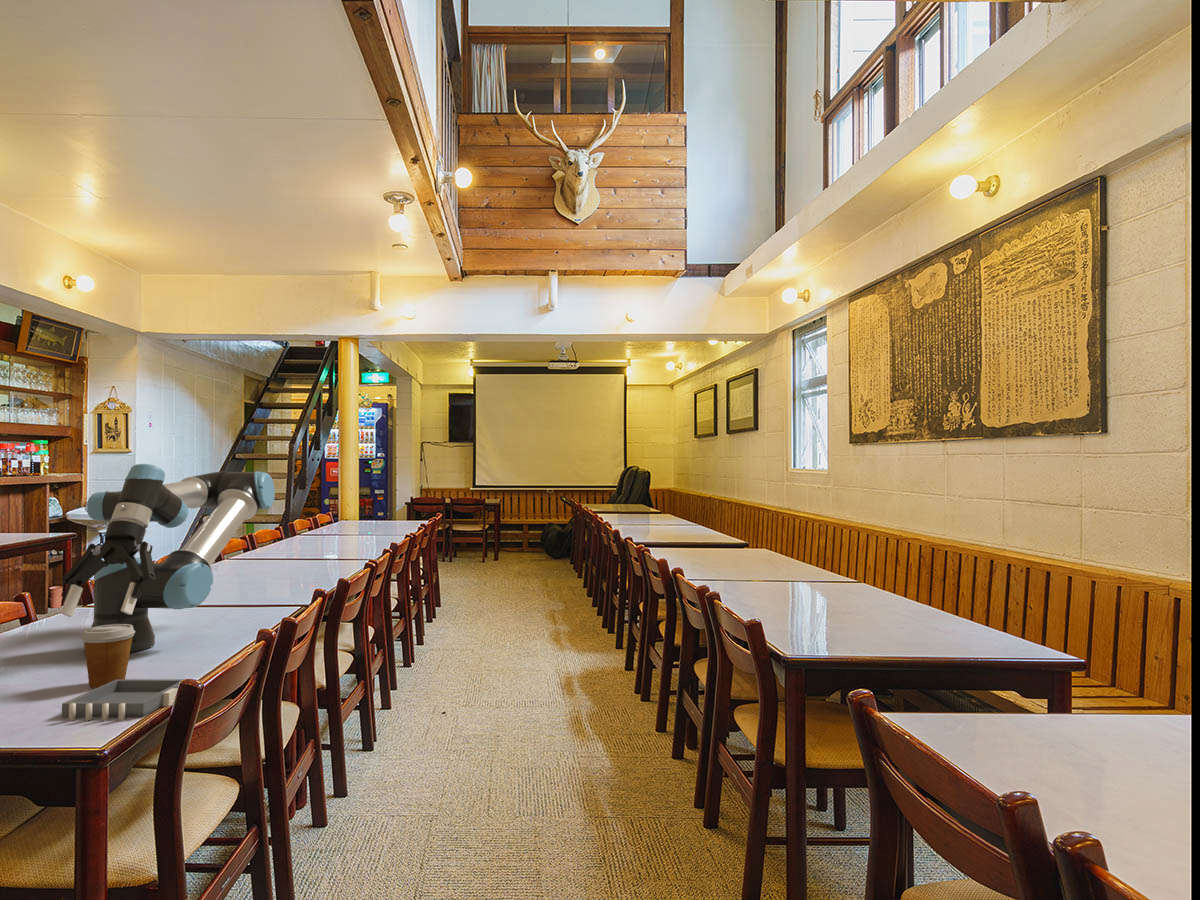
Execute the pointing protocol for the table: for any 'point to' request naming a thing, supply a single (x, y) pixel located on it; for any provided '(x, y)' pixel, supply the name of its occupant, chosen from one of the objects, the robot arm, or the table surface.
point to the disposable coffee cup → (107, 652)
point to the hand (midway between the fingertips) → (96, 614)
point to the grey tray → (122, 699)
